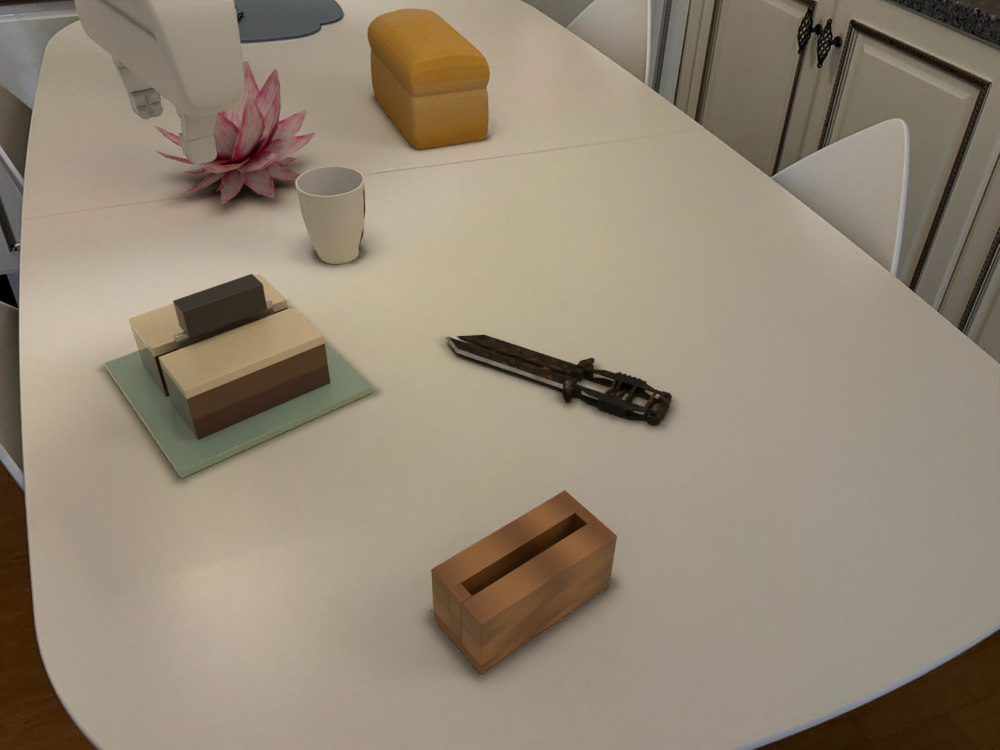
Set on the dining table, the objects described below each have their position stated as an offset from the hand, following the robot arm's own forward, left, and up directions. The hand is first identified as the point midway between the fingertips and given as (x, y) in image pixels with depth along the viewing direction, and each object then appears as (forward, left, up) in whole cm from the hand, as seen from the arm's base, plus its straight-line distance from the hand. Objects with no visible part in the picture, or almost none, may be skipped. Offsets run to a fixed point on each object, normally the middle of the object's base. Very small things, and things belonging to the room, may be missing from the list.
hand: (173, 136), depth 60 cm
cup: (+25, +27, -31) cm, 48 cm away
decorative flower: (+24, +52, -31) cm, 65 cm away
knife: (+30, -8, -31) cm, 44 cm away
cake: (+4, +11, -31) cm, 33 cm away
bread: (+59, +57, -31) cm, 88 cm away
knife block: (+10, -28, -31) cm, 43 cm away
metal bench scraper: (+4, +11, -30) cm, 32 cm away
